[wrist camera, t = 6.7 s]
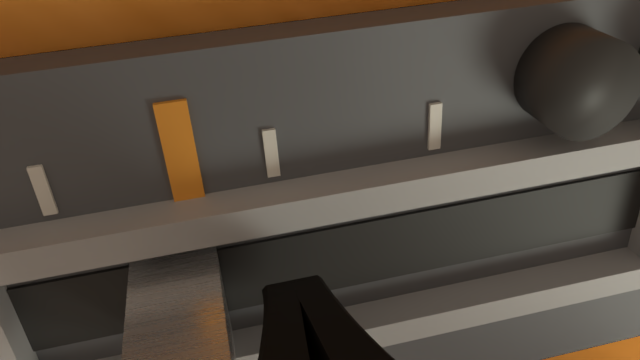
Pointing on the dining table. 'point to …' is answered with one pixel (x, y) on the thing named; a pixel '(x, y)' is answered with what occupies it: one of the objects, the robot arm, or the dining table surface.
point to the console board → (337, 177)
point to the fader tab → (177, 309)
